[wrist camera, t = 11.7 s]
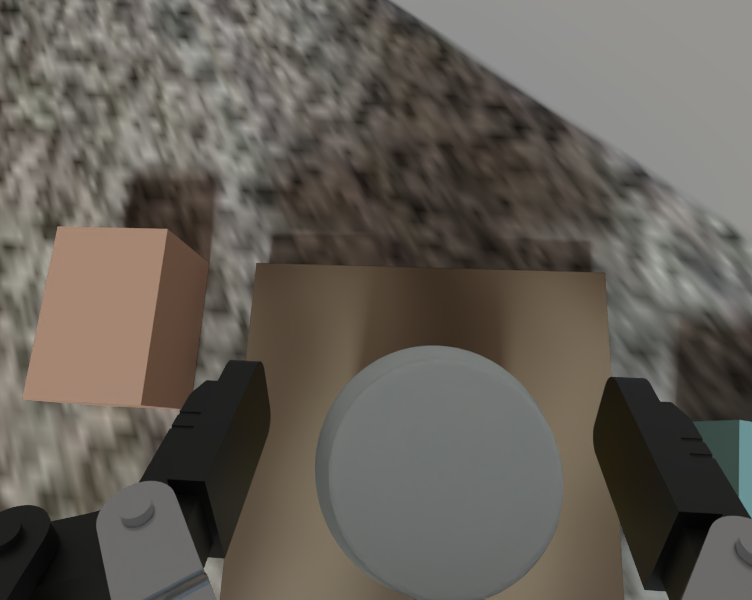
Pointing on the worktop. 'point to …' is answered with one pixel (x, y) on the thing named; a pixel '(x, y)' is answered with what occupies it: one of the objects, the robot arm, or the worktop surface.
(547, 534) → the supplement bottle
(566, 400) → the walnut board
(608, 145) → the worktop surface
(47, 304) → the terracotta block
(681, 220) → the worktop surface
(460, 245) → the worktop surface
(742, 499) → the teal block
